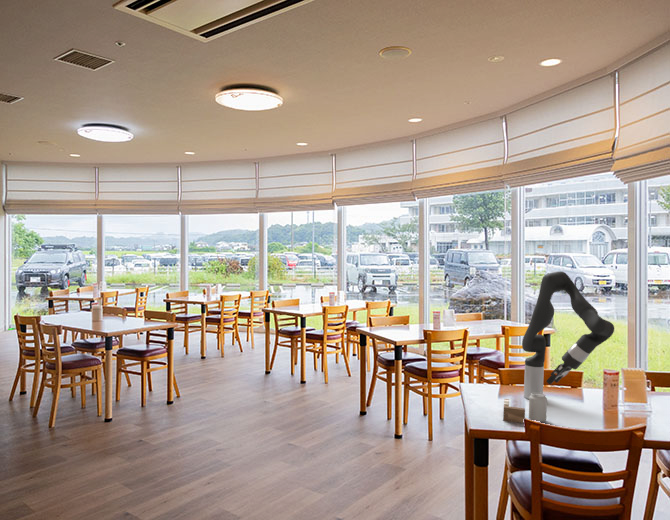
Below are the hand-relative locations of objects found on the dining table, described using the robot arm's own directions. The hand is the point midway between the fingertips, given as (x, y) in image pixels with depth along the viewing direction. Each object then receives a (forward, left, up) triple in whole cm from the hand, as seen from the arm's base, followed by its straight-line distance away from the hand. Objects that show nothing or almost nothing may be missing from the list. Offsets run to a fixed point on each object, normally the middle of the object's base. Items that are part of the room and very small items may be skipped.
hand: (551, 382), depth 224 cm
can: (-3, -5, -19) cm, 20 cm away
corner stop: (-3, -15, -19) cm, 24 cm away
